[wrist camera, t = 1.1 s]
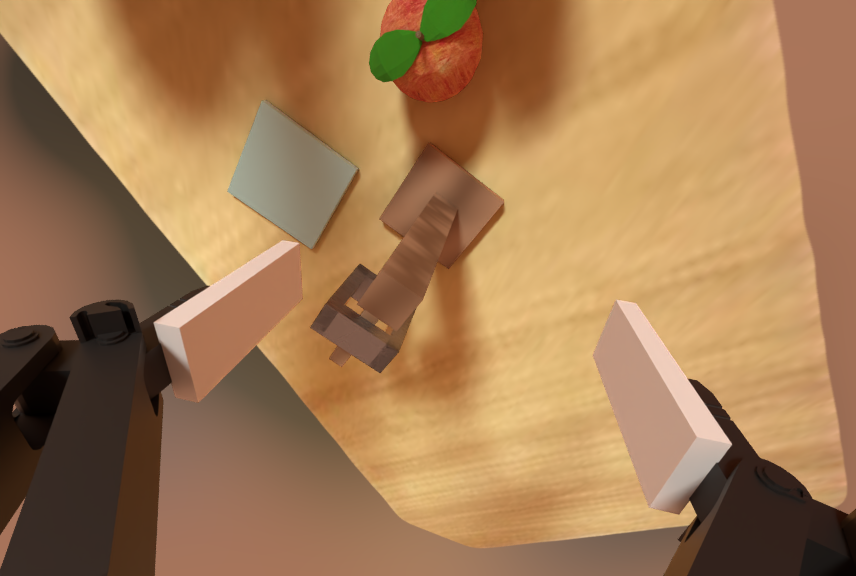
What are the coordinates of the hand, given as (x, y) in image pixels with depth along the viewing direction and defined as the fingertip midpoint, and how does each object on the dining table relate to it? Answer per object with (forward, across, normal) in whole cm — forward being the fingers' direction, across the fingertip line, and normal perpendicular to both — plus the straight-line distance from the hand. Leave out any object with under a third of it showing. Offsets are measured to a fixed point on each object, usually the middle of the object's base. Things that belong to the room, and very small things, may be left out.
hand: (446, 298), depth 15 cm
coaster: (+27, -22, -3) cm, 35 cm away
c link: (+18, -7, -11) cm, 22 cm away
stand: (+27, -5, -7) cm, 29 cm away
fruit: (+27, -6, +11) cm, 30 cm away
